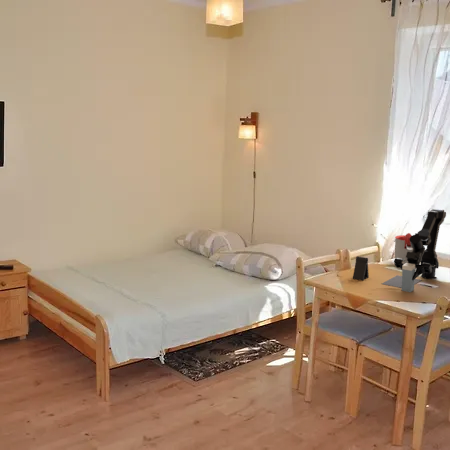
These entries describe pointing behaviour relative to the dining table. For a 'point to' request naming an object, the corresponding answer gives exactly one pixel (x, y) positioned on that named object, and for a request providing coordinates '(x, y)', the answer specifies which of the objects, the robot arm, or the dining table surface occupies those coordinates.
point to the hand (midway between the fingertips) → (407, 279)
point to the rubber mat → (398, 281)
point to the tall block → (408, 277)
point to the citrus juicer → (402, 246)
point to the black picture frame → (361, 269)
